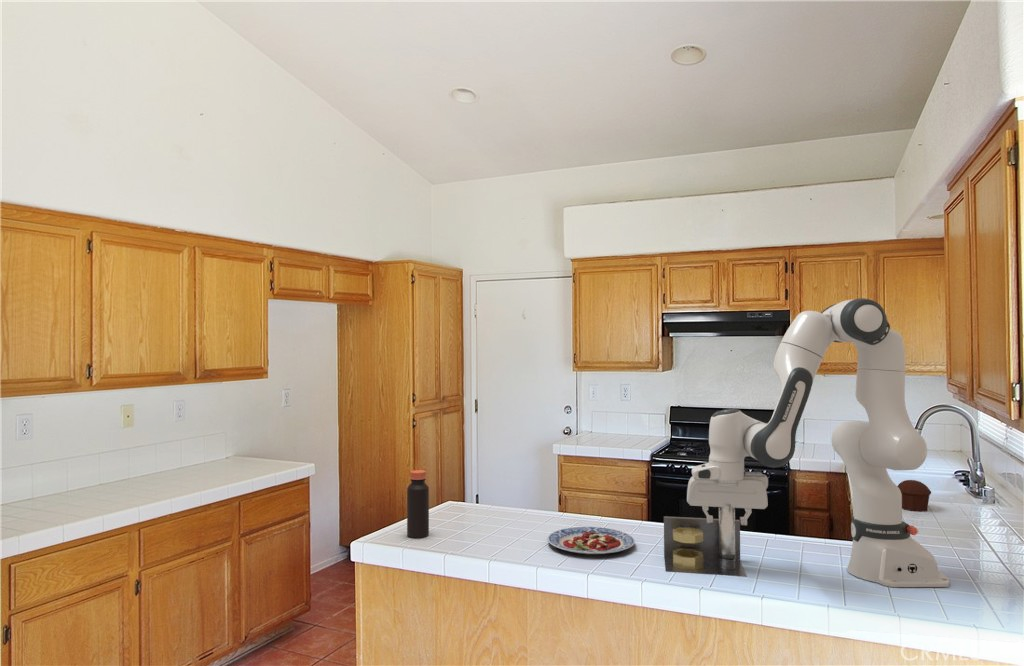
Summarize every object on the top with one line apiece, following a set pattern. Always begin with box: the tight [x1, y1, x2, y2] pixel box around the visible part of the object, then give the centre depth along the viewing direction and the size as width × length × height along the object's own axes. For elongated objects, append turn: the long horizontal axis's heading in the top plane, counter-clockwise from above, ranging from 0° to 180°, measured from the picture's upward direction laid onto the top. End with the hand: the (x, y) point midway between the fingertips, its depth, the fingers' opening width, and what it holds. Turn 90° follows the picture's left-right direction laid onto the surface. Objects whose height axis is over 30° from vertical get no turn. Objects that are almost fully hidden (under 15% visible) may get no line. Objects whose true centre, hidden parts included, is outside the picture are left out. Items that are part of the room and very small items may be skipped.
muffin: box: [897, 479, 932, 513], centre depth 238 cm, size 12×11×10 cm
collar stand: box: [663, 515, 748, 578], centre depth 174 cm, size 20×13×12 cm, turn 79°
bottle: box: [406, 469, 430, 539], centre depth 207 cm, size 7×7×20 cm
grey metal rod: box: [718, 504, 736, 570], centre depth 173 cm, size 4×4×17 cm
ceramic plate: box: [546, 526, 636, 556], centre depth 196 cm, size 26×26×3 cm
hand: (726, 523), depth 173 cm, fingers open, 7 cm apart
